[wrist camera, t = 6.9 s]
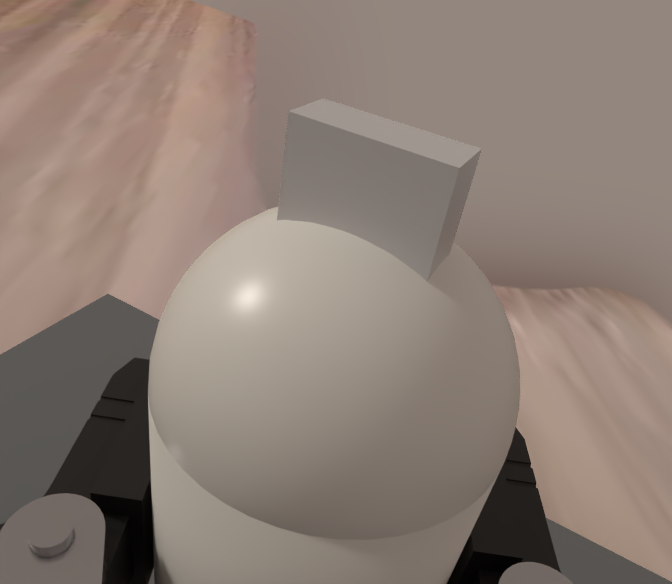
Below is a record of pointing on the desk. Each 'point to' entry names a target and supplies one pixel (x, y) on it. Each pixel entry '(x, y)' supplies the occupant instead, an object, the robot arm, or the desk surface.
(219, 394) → the white domed bottle
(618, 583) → the desk mat
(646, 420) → the desk surface
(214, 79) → the desk surface
